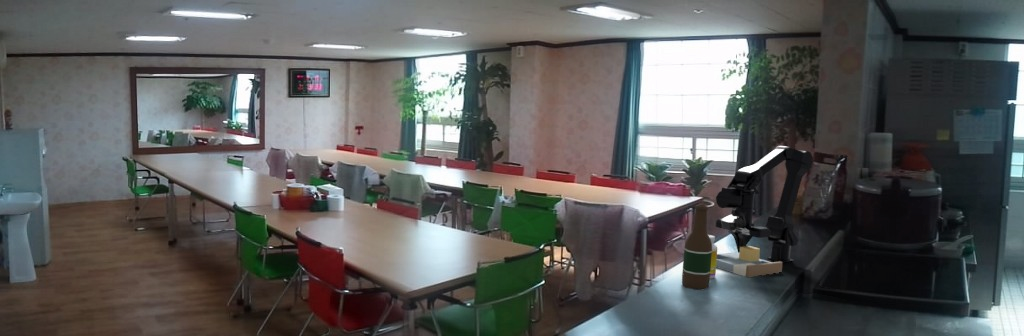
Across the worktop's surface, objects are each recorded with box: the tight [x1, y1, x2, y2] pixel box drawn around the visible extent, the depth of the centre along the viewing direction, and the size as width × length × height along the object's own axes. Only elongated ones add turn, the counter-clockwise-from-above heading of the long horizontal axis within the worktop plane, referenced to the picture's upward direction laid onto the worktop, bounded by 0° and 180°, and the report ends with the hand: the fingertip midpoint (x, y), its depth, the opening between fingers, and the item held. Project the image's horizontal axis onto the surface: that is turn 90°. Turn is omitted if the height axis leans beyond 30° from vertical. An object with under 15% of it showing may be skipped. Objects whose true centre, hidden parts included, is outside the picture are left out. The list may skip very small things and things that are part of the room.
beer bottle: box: [681, 204, 712, 290], centre depth 192 cm, size 8×8×24 cm
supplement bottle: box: [708, 234, 718, 280], centre depth 205 cm, size 7×7×13 cm
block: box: [739, 245, 761, 262], centre depth 220 cm, size 4×4×4 cm
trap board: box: [716, 251, 784, 278], centre depth 219 cm, size 16×19×4 cm
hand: (739, 252), depth 224 cm, fingers closed
